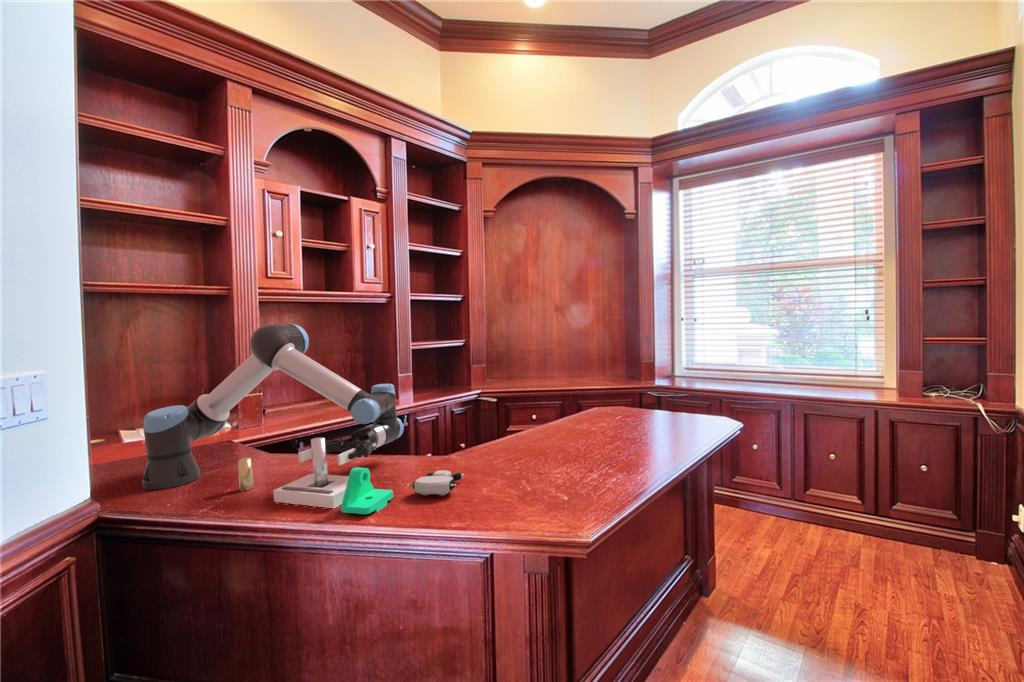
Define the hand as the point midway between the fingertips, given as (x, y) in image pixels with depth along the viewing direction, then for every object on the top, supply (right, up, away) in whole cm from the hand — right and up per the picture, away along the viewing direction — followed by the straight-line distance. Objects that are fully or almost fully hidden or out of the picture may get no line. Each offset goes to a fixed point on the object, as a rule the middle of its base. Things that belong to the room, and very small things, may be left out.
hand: (318, 458), depth 133 cm
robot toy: (+33, -9, +1) cm, 34 cm away
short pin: (-26, -12, +11) cm, 30 cm away
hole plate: (+1, -11, +1) cm, 11 cm away
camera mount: (+16, -11, -9) cm, 21 cm away
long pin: (+1, -11, +1) cm, 11 cm away
